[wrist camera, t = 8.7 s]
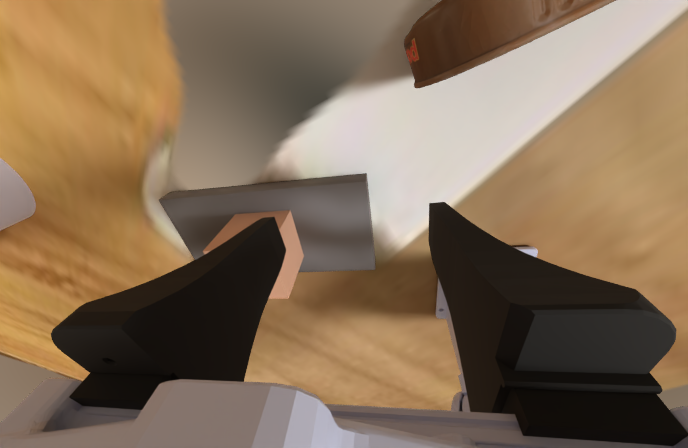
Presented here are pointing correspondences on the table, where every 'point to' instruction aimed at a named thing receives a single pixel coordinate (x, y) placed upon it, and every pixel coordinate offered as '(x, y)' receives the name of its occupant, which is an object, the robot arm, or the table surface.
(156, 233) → the table surface
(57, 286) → the table surface
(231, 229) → the cube
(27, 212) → the wedge on round base
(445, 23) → the tin
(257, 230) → the robot arm
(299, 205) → the charcoal board
